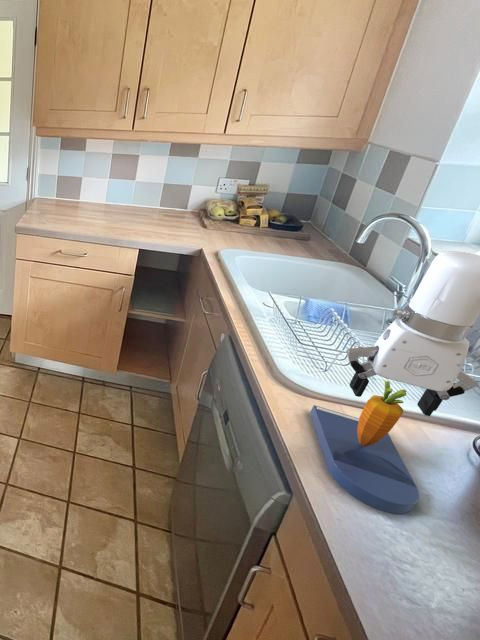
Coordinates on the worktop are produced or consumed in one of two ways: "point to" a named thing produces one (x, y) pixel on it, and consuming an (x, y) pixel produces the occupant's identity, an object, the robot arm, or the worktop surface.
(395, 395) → the carrot
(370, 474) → the board
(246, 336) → the worktop surface
